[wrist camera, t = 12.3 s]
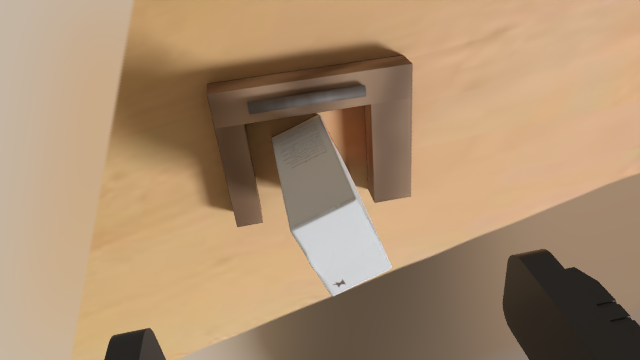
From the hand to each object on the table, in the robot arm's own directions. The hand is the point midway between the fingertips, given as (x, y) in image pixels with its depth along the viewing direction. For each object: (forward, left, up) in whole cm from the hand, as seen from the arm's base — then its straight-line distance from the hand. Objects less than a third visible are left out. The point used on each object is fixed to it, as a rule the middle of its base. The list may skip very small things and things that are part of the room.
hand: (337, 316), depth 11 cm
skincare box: (-2, +10, -25) cm, 27 cm away
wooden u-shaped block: (-3, +9, -25) cm, 27 cm away
